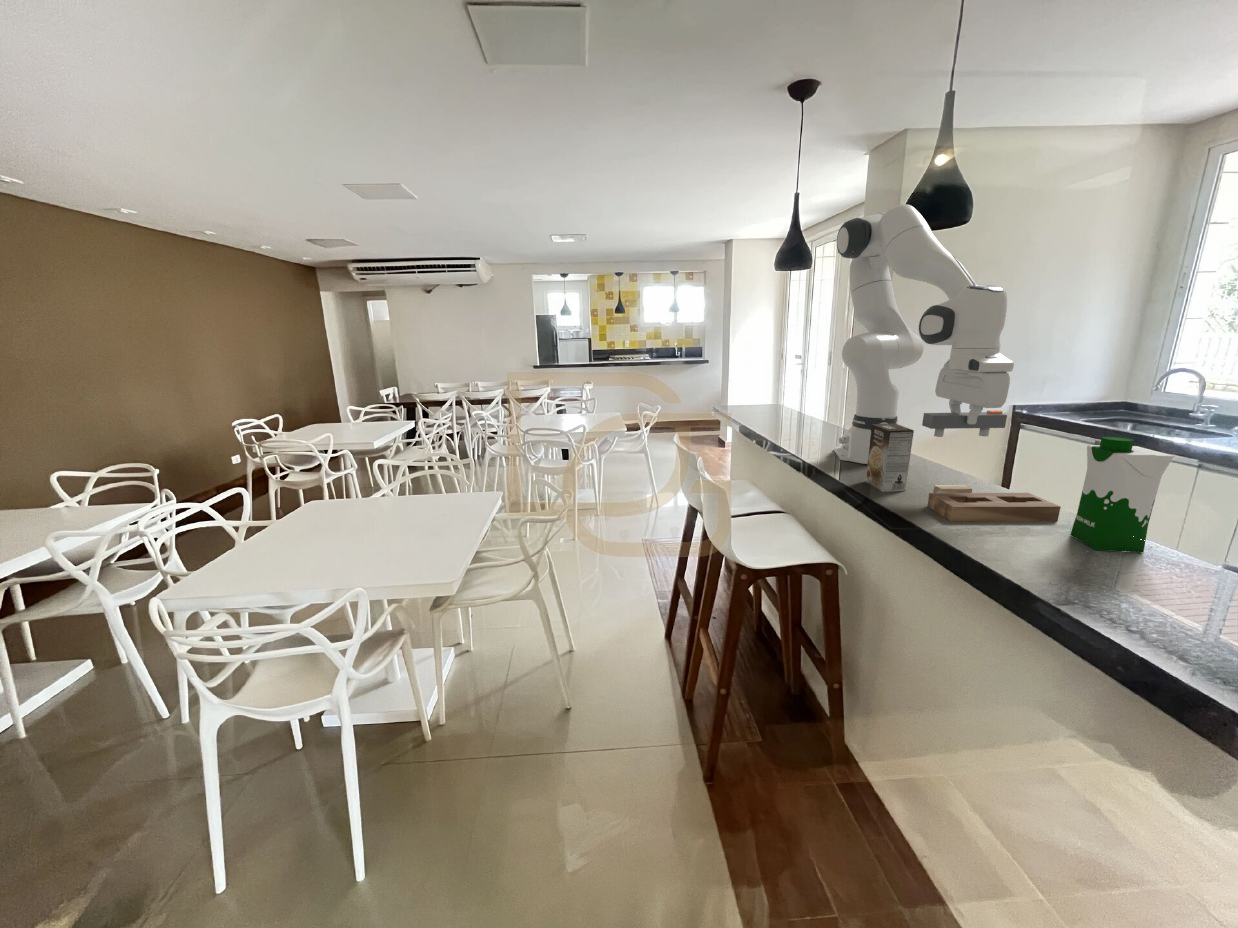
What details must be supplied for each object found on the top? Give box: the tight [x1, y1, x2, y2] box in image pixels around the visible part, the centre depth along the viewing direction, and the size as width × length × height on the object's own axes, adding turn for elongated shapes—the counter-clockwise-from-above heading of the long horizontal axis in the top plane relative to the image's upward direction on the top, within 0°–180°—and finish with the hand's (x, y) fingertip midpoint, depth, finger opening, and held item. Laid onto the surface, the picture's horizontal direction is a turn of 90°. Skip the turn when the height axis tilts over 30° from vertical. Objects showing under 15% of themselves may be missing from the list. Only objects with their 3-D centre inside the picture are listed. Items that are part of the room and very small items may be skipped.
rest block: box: [932, 484, 973, 493], centre depth 115 cm, size 3×7×2 cm, turn 85°
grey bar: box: [921, 409, 1008, 438], centre depth 111 cm, size 4×16×6 cm, turn 85°
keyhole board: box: [926, 492, 1061, 522], centre depth 103 cm, size 9×21×4 cm, turn 85°
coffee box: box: [865, 423, 915, 493], centre depth 122 cm, size 9×6×16 cm
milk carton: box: [1070, 435, 1174, 554], centre depth 86 cm, size 9×9×20 cm
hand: (962, 421), depth 111 cm, fingers closed on grey bar, 4 cm apart
